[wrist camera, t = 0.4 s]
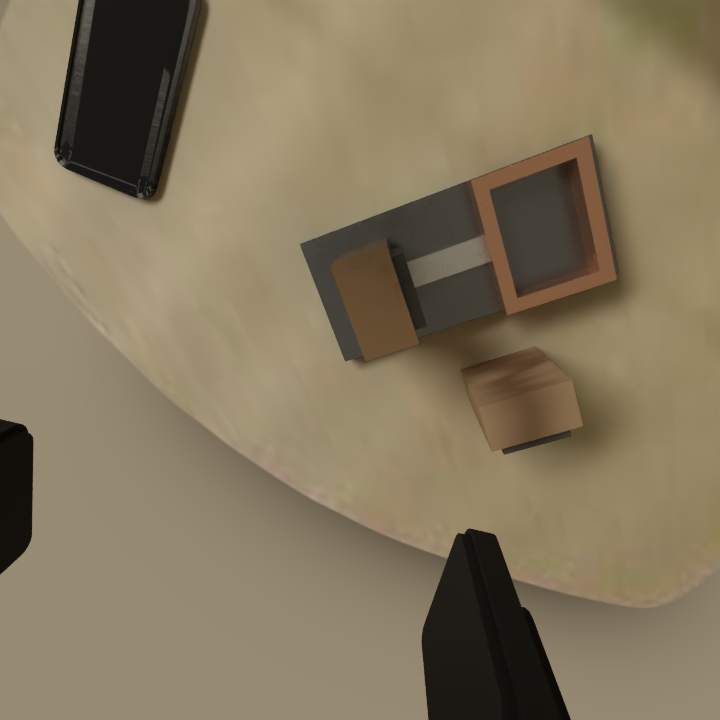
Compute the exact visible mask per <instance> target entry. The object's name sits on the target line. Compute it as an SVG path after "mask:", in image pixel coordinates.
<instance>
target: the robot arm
mask: <svg viewBox="0 0 720 720" xmlns="http://www.w3.org/2000/svg"><path fill="white" fill-rule="evenodd" d="M32 484H33V437H32V435H31V434H29V433H28V430H27V428H26V426H24V425H22V424H18V423H14V422H10V421H5V420H1V419H0V574H1V573H2V572H4V571H5V570H6V569H7V568H8V567H9V566H10V565H11V564H12V563H13V562H14V561H15V560H16V559H17V558H19V557H20V556H21V555H22V554H23V553H24V552H25V550H26V549H27V547H28V545H29V543H30V541H31V537H32V491H33V485H32ZM422 652H423V662H424V674H425V686H426V696H427V708H428V718H429V720H571V719H570V716H569V714H568V711H567V708H566V706H565V703H564V701H563V698H562V695H561V692H560V690H559V687H558V684H557V682H556V679H555V677H554V674H553V671H552V668H551V666H550V663H549V660H548V658H547V655H546V652H545V650H544V647H543V645H542V642H541V639H540V637H539V634H538V631H537V628H536V626H535V623H534V620H533V618H532V616H531V614H530V612H529V611H528V610H527V609H526V608H524V607H521V604H520V602H519V599H518V596H517V593H516V591H515V588H514V585H513V582H512V579H511V576H510V573H509V571H508V568H507V565H506V562H505V559H504V557H503V554H502V551H501V548H500V545H499V543H498V540H497V537H496V536H495V535H494V534H491V533H487V532H483V531H478V530H474V529H467V531H466V532H465V534H461V533H458V534H457V535H456V538H455V540H454V543H453V546H452V548H451V551H450V554H449V557H448V560H447V563H446V566H445V568H444V571H443V574H442V576H441V579H440V582H439V585H438V587H437V590H436V593H435V596H434V599H433V601H432V604H431V607H430V610H429V613H428V616H427V618H426V621H425V624H424V627H423V633H422Z"/></svg>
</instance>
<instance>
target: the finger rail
mask: <svg viewBox="0 0 720 720" xmlns="http://www.w3.org/2000/svg"><path fill="white" fill-rule="evenodd" d="M300 246H301V248H302V251H303V253H304V256H305V259H306V261H307V264H308V266H309V269H310V272H311V274H312V277H313V279H314V282H315V285H316V287H317V290H318V292H319V295H320V298H321V300H322V303H323V305H324V308H325V310H326V313H327V316H328V318H329V321H330V323H331V326H332V329H333V331H334V334H335V336H336V339H337V342H338V344H339V347H340V349H341V352H342V355H343V357H344V360H345V361H348V360H351V359H354V358H357V357H360V356H364V359H365V362H366V361H369V360H372V359H375V358H378V357H381V356H384V355H387V354H390V353H393V352H397V351H400V350H403V349H406V348H409V347H412V346H415V345H418V344H419V340H418V338H419V337H422V336H425V335H428V334H431V333H434V332H437V331H440V330H443V329H446V328H449V327H452V326H455V325H458V324H461V323H464V322H467V321H470V320H474V319H477V318H480V317H483V316H486V315H489V314H492V313H495V312H498V311H501V310H502V311H503V312H504V313H505V314H506V315H510V314H513V313H516V312H519V311H522V310H525V309H528V308H532V307H535V306H538V305H541V304H544V303H547V302H550V301H553V300H556V299H559V298H562V297H565V296H568V295H572V294H575V293H578V292H581V291H584V290H587V289H590V288H593V287H596V286H599V285H602V284H605V283H608V282H612V281H615V280H617V278H616V273H617V272H618V267H617V262H616V256H615V251H614V246H613V241H612V236H611V230H610V225H609V220H608V215H607V210H606V204H605V199H604V194H603V189H602V184H601V179H600V173H599V168H598V163H597V158H596V153H595V147H594V142H593V137H592V134H591V135H589V136H586V137H583V138H581V139H578V140H575V141H573V142H570V143H567V144H565V145H562V146H559V147H557V148H554V149H551V150H549V151H546V152H543V153H541V154H538V155H536V156H533V157H530V158H528V159H525V160H522V161H520V162H517V163H514V164H512V165H509V166H506V167H504V168H501V169H498V170H496V171H493V172H490V173H488V174H485V175H482V176H480V177H477V178H474V179H472V180H469V181H466V182H464V183H461V184H458V185H456V186H453V187H450V188H448V189H445V190H443V191H440V192H437V193H435V194H432V195H429V196H427V197H424V198H421V199H419V200H416V201H413V202H411V203H408V204H405V205H403V206H400V207H397V208H395V209H392V210H389V211H387V212H384V213H381V214H379V215H376V216H373V217H371V218H368V219H365V220H363V221H360V222H357V223H355V224H352V225H350V226H347V227H344V228H342V229H339V230H336V231H334V232H331V233H328V234H326V235H323V236H320V237H318V238H315V239H312V240H310V241H307V242H304V243H302V244H300Z"/></svg>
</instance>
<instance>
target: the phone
mask: <svg viewBox="0 0 720 720" xmlns="http://www.w3.org/2000/svg"><path fill="white" fill-rule="evenodd" d="M200 5H201V2H200V0H79V3H78V9H77V15H76V21H75V27H74V33H73V39H72V45H71V51H70V57H69V63H68V69H67V75H66V81H65V87H64V93H63V99H62V105H61V111H60V117H59V123H58V129H57V135H56V141H55V148H54V153H55V157H56V159H57V161H58V163H59V164H60V165H61V166H62V167H64V168H66V169H68V170H70V171H73V172H75V173H77V174H80V175H82V176H85V177H87V178H89V179H92V180H94V181H97V182H99V183H102V184H104V185H106V186H109V187H111V188H114V189H116V190H118V191H121V192H123V193H126V194H128V195H130V196H133V197H136V198H149V197H151V196H153V195H154V194H155V192H156V190H157V186H158V182H159V178H160V174H161V170H162V165H163V162H164V158H165V154H166V149H167V147H168V143H169V138H170V132H171V128H172V124H173V120H174V116H175V111H176V107H177V103H178V99H179V95H180V91H181V86H182V82H183V78H184V74H185V70H186V66H187V62H188V57H189V53H190V49H191V45H192V41H193V37H194V32H195V28H196V24H197V20H198V16H199V12H200Z"/></svg>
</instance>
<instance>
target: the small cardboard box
mask: <svg viewBox="0 0 720 720" xmlns="http://www.w3.org/2000/svg"><path fill="white" fill-rule="evenodd" d="M461 373H462V376H463V380H464V383H465V386H466V389H467V393H468V396H469V399H470V402H471V405H472V408H473V410H474V413H475V415H476V417H477V419H478V422H479V424H480V426H481V428H482V431H483V433H484V435H485V438H486V440H487V442H488V444H489V447H490V449H491V451H492V452H493V451H497V450H500V449H502V452H503V454H504V455H505V454H509V453H512V452H516V451H519V450H523V449H527V448H530V447H534V446H537V445H541V444H545V443H548V442H552V441H556V440H559V439H563V438H566V437H570V436H571V433H570V430H572V429H575V428H579V427H583V422H582V418H581V414H580V410H579V406H578V401H577V397H576V393H575V389H574V385H573V380H572V379H571V378H570V377H569V376H568V375H567V374H565V373H564V372H563V371H562V370H561V369H560V368H559V367H558V366H556V365H555V364H554V363H553V362H552V361H551V360H550V359H549V358H548V357H546V356H545V355H544V354H543V353H542V352H541V351H540V350H539V349H537V348H536V347H532V348H528V349H525V350H522V351H519V352H516V353H512V354H509V355H506V356H503V357H499V358H496V359H493V360H490V361H487V362H483V363H480V364H477V365H474V366H471V367H467V368H464V369H461Z"/></svg>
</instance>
